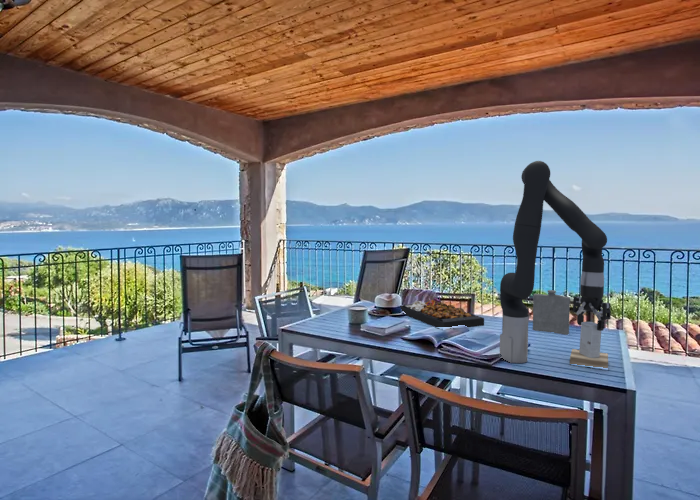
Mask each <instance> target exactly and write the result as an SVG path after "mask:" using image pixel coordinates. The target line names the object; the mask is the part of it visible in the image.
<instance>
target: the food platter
mask: <svg viewBox="0 0 700 500" xmlns="http://www.w3.org/2000/svg"><path fill="white" fill-rule="evenodd" d="M438 296H439V299H438V297H433V299H430V298H431V297H428V301H427V302H426V301H424V302H423V301H421V300H416V301H413V302H411V303H409V304H403V305H399V306H400V307H401V309H402V311H404V312H405V313H406V315H405V316H406V317H409V318H411V319H414V320H416V321H419V322H422V323H424V324H426V325H429V326H432V327H434V326H435V327H434V328H436V327H452V326H458V325H465V326H467V327H468V328H474V327H475V328H476V327H482V326H484V327H485V318H484V317H481V316H479V315H475V314H472V313H469V312H466V310H465V309H464V308H462V307H456V306H454V305H452V304H447V303H444V302H441V297H440V296H441V295H438Z"/></svg>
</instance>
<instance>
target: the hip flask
mask: <svg viewBox="0 0 700 500" xmlns="http://www.w3.org/2000/svg"><path fill="white" fill-rule="evenodd" d="M556 293H557V290H552V289H548V290H547V294H541V293H534V294H533V298H532V299H533V300H532V301H533V302H532V307H533V308H532V331H536V332H544V333H551V332H554V333H553V334H559V335H564V336H568V334H569V335H570V313H571V312H570V311H571V310H570V309H571V307H570V304H571V297H570V296H565V295H562V294H561V295H560V294H556Z"/></svg>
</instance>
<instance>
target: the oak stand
mask: <svg viewBox="0 0 700 500" xmlns="http://www.w3.org/2000/svg"><path fill="white" fill-rule="evenodd" d="M579 350H580V349H575V348H572V349H571V352H570V357H569V365H570V364H577V365H585V366H593V367H603V368H608V369H609V353H606V352H600V357H598V358H589V357H586V356H584V355H582V354H580V353H579Z"/></svg>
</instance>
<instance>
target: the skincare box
mask: <svg viewBox="0 0 700 500" xmlns="http://www.w3.org/2000/svg"><path fill="white" fill-rule="evenodd" d="M601 342H602V331H599V330H597V323H596V322H593V321H584V322H581V325H580V339H579V349H578V350H579V353H580V354H582V355H584V356H586V357H589V358H598V357H600V353H601Z"/></svg>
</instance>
